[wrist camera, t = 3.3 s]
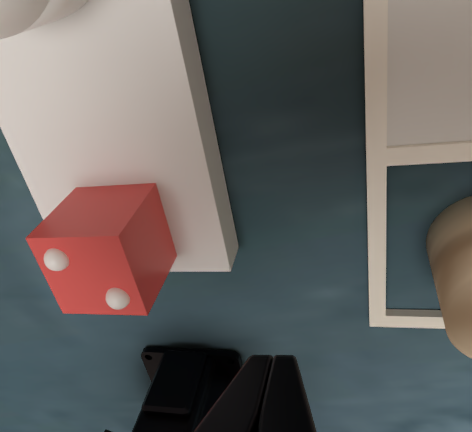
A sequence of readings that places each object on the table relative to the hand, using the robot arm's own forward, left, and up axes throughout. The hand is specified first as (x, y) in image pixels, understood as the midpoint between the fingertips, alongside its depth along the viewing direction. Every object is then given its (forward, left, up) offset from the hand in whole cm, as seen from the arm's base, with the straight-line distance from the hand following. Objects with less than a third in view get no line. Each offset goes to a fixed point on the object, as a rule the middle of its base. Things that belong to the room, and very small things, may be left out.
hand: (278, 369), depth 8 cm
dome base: (+2, +9, -13) cm, 16 cm away
